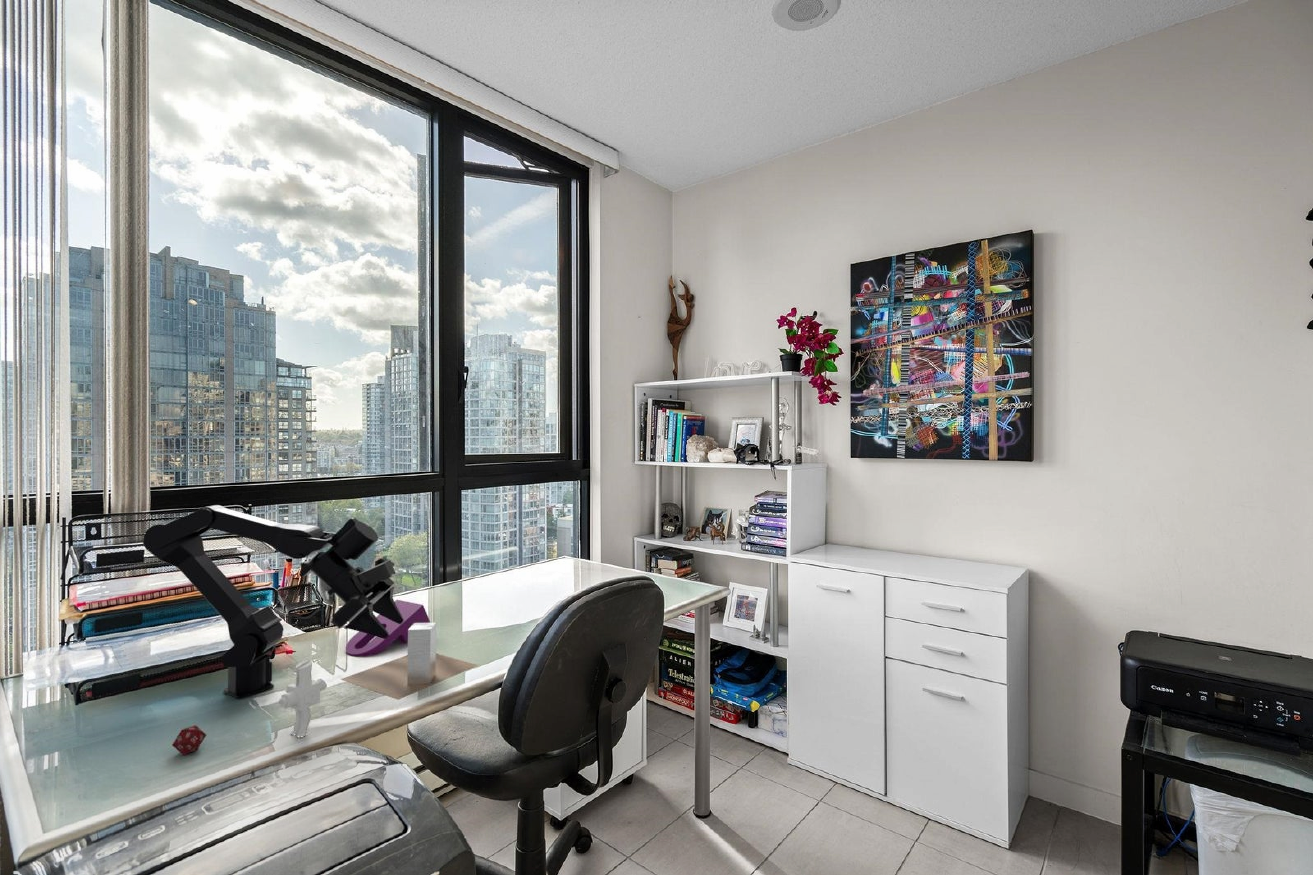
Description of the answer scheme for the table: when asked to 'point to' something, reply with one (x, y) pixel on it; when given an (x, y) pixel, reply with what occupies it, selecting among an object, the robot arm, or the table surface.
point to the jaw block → (421, 653)
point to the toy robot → (302, 696)
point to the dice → (189, 740)
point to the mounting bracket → (388, 630)
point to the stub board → (404, 676)
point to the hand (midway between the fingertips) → (394, 629)
